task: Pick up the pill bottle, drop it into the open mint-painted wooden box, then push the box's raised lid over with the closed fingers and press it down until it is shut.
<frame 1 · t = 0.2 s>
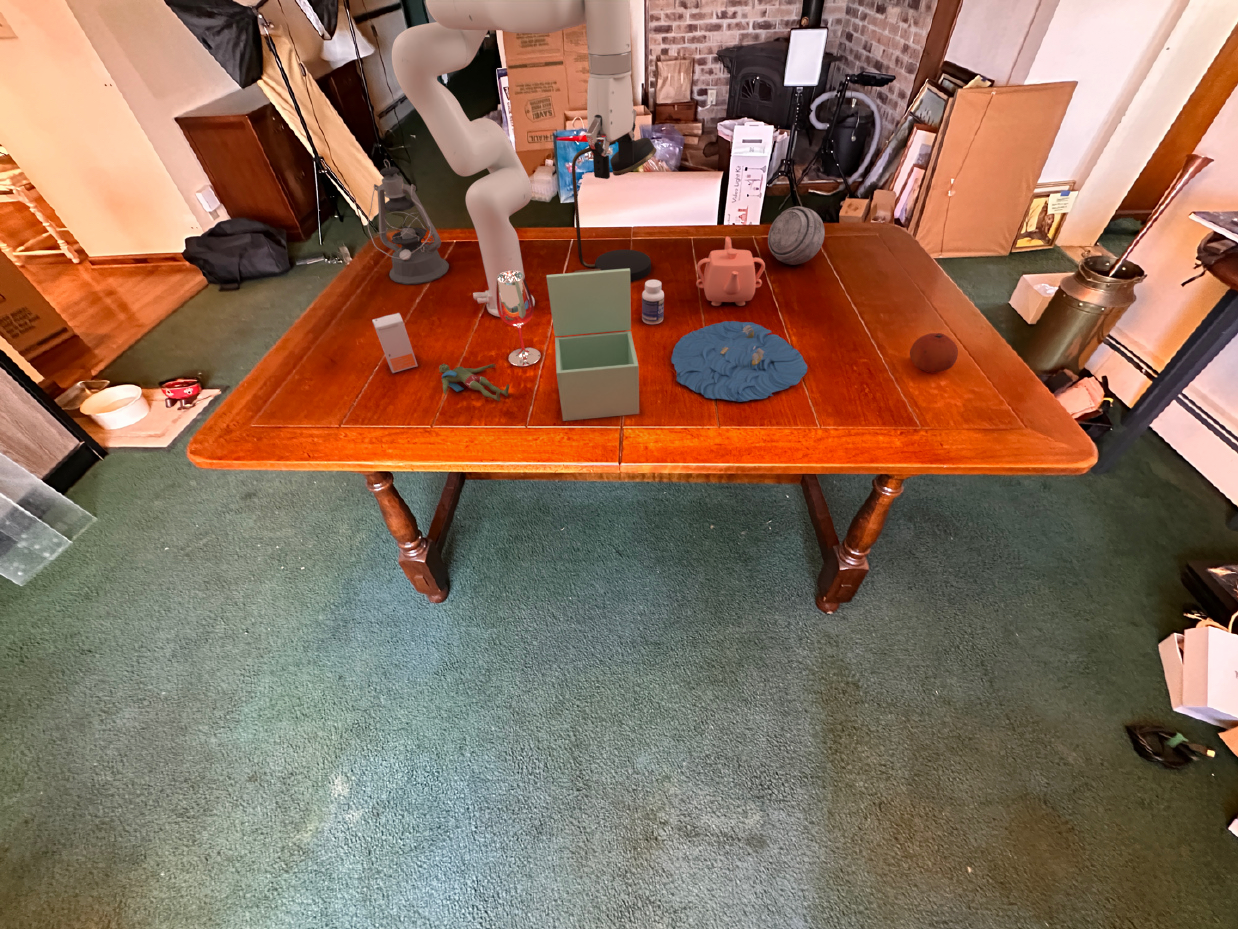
hand: (614, 169, 110), 37 cm above the table, tool pointing down, fingers open, 9 cm apart
fruit: (926, 368, 121), on the table
blue flat rumpled sheet: (737, 364, 125), on the table
lid: (590, 298, 110), point 19 cm above the table, hinge at 85.0°
pill bottle: (652, 320, 140), on the table
figurine: (474, 388, 122), on the table
teapot: (727, 297, 147), on the table
wineglass: (524, 358, 130), on the table
lantern: (418, 274, 163), on the table
chest: (598, 398, 118), on the table
cosmetic box: (404, 366, 129), on the table
lamp: (617, 270, 160), on the table
decorative orb: (791, 262, 160), on the table
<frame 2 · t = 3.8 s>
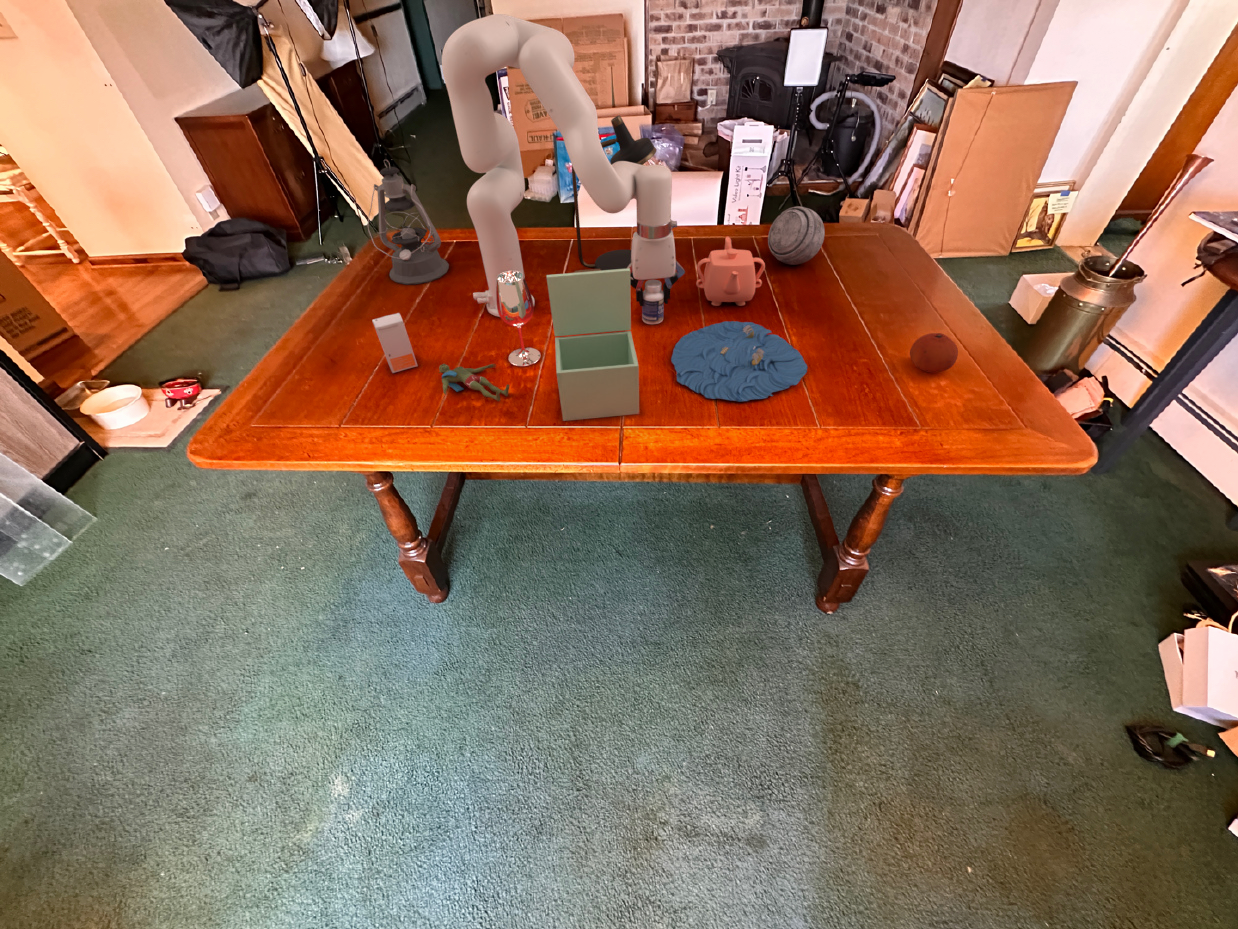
hand: (653, 301, 136), 5 cm above the table, tool pointing down, fingers closed on pill bottle, 5 cm apart
pill bottle: (652, 320, 140), on the table, touching gripper
everything else where it was.
when the fingers open (14 cm above the table, at t = 13.7 s): pill bottle drops 8 cm, resting on chest.
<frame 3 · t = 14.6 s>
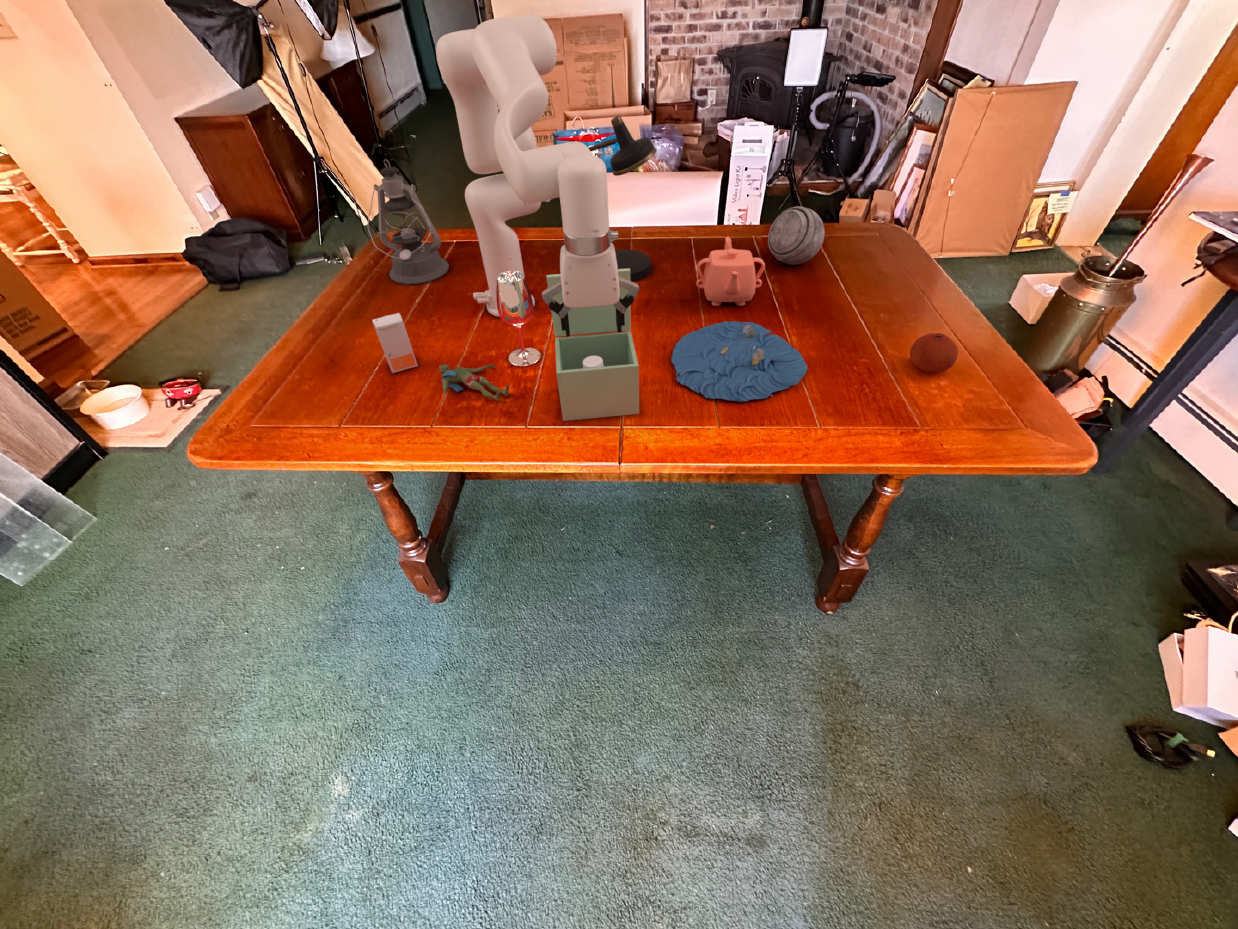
hand: (593, 330, 104), 17 cm above the table, tool pointing down, fingers open, 9 cm apart
pill bottle: (598, 400, 116), point 1 cm above the table, touching chest
everything else where it was.
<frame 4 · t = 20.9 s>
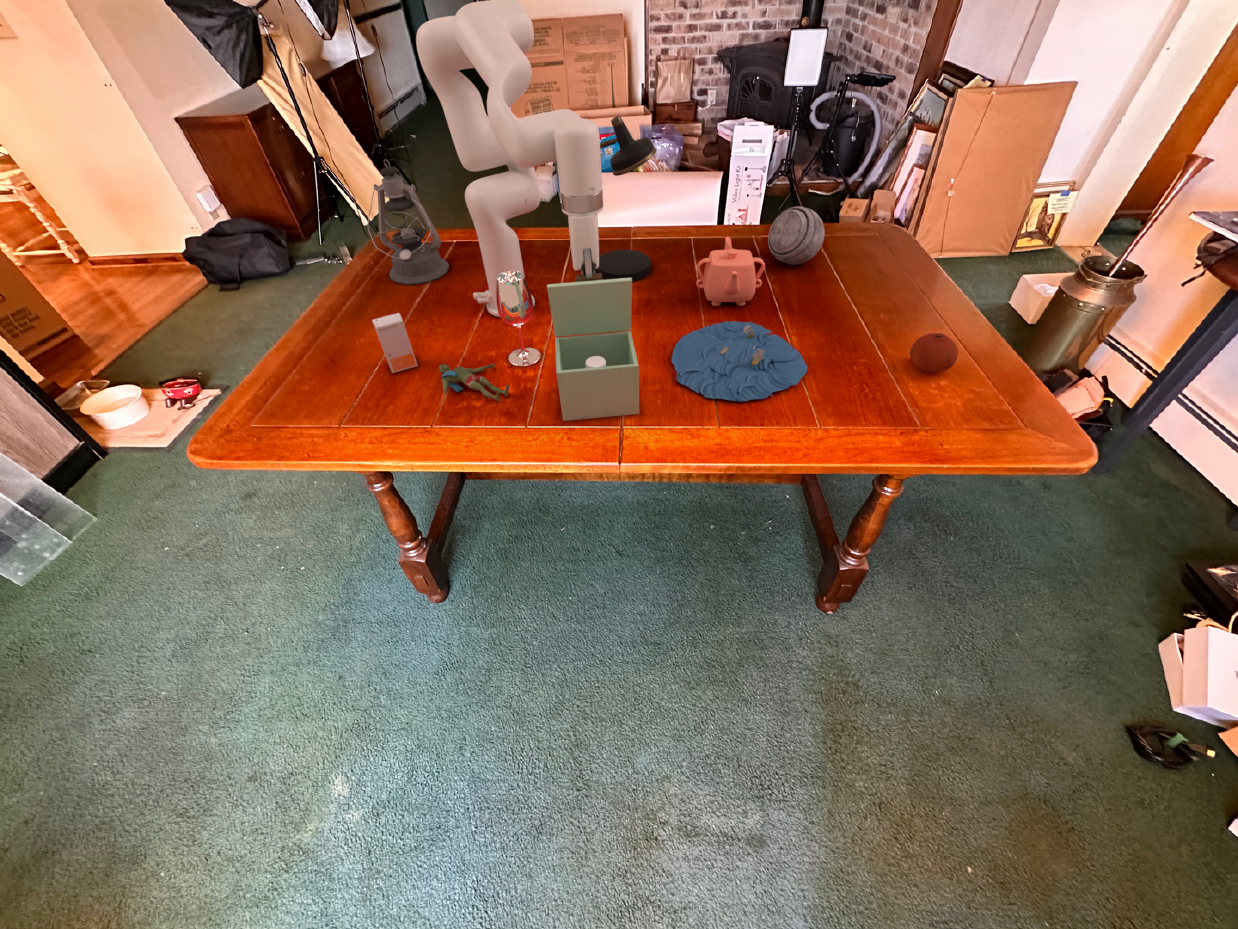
hand: (589, 295, 112), 18 cm above the table, tool pointing down, fingers closed
lid: (590, 301, 109), point 19 cm above the table, hinge at 72.8°, touching gripper
everything else where it was.
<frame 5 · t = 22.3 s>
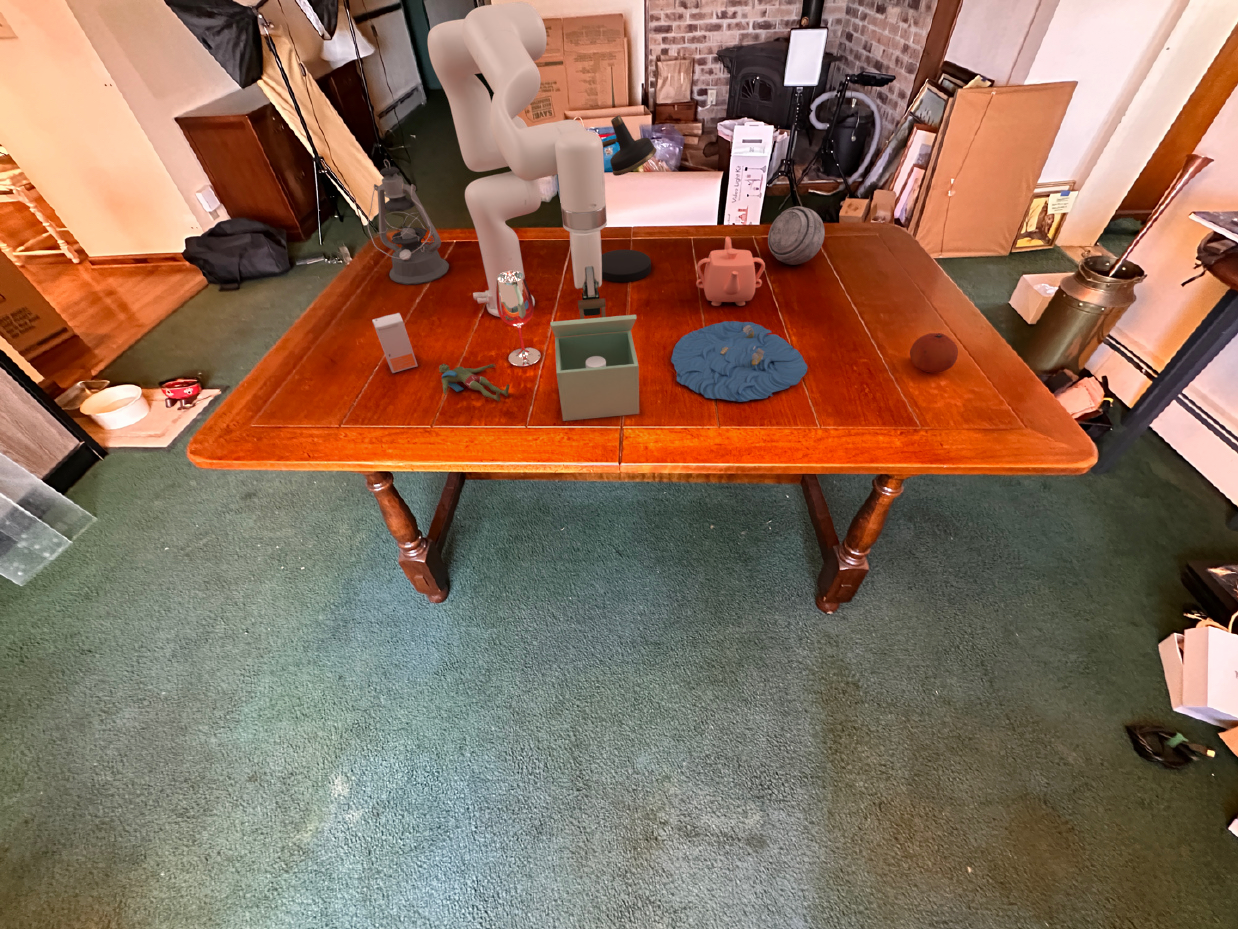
hand: (591, 313, 107), 18 cm above the table, tool pointing down, fingers closed
lid: (592, 316, 107), point 18 cm above the table, hinge at 39.9°, touching gripper
everything else where it was.
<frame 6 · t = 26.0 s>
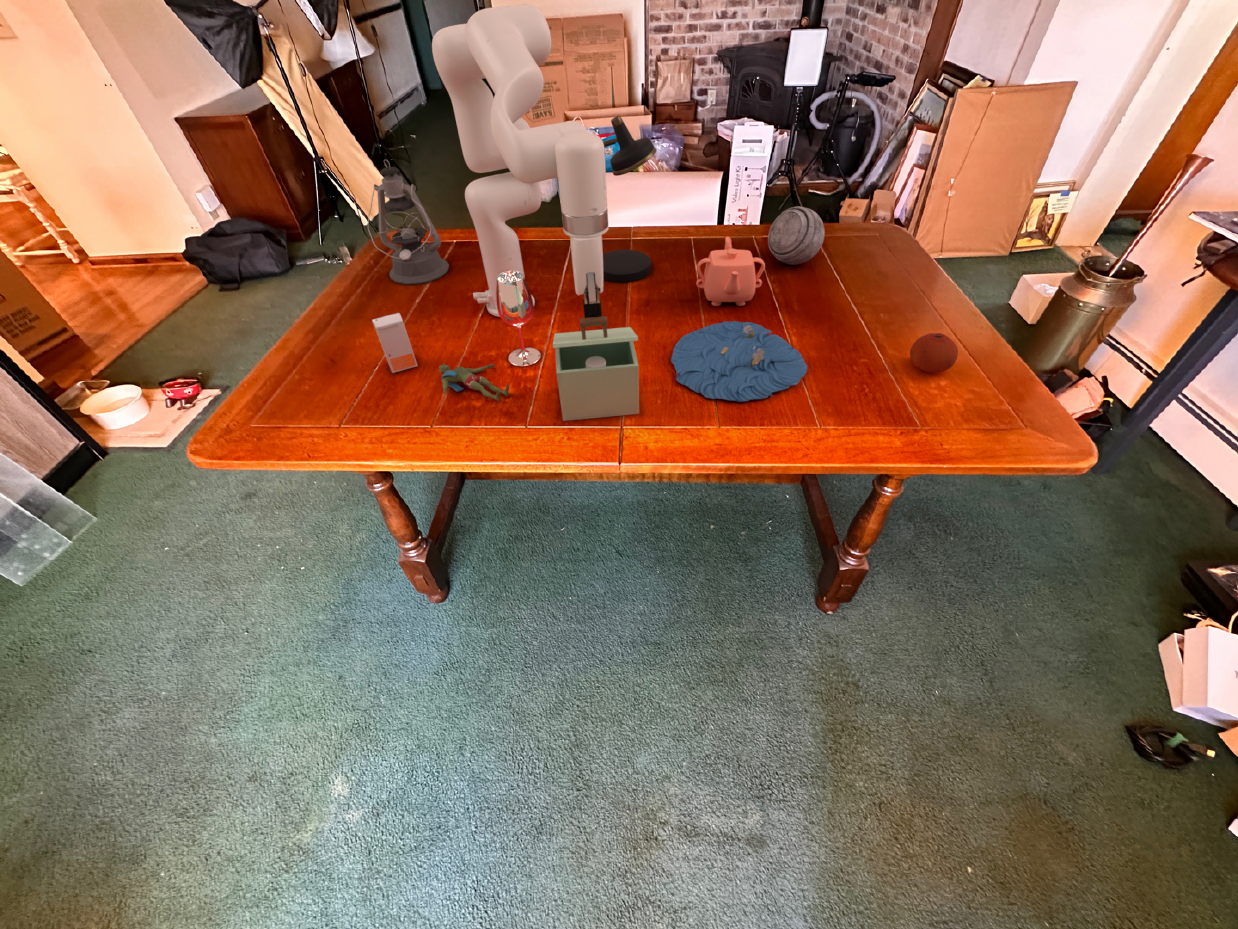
hand: (593, 319, 104), 19 cm above the table, tool pointing down, fingers closed
lid: (593, 326, 107), point 17 cm above the table, hinge at 23.3°
everything else where it was.
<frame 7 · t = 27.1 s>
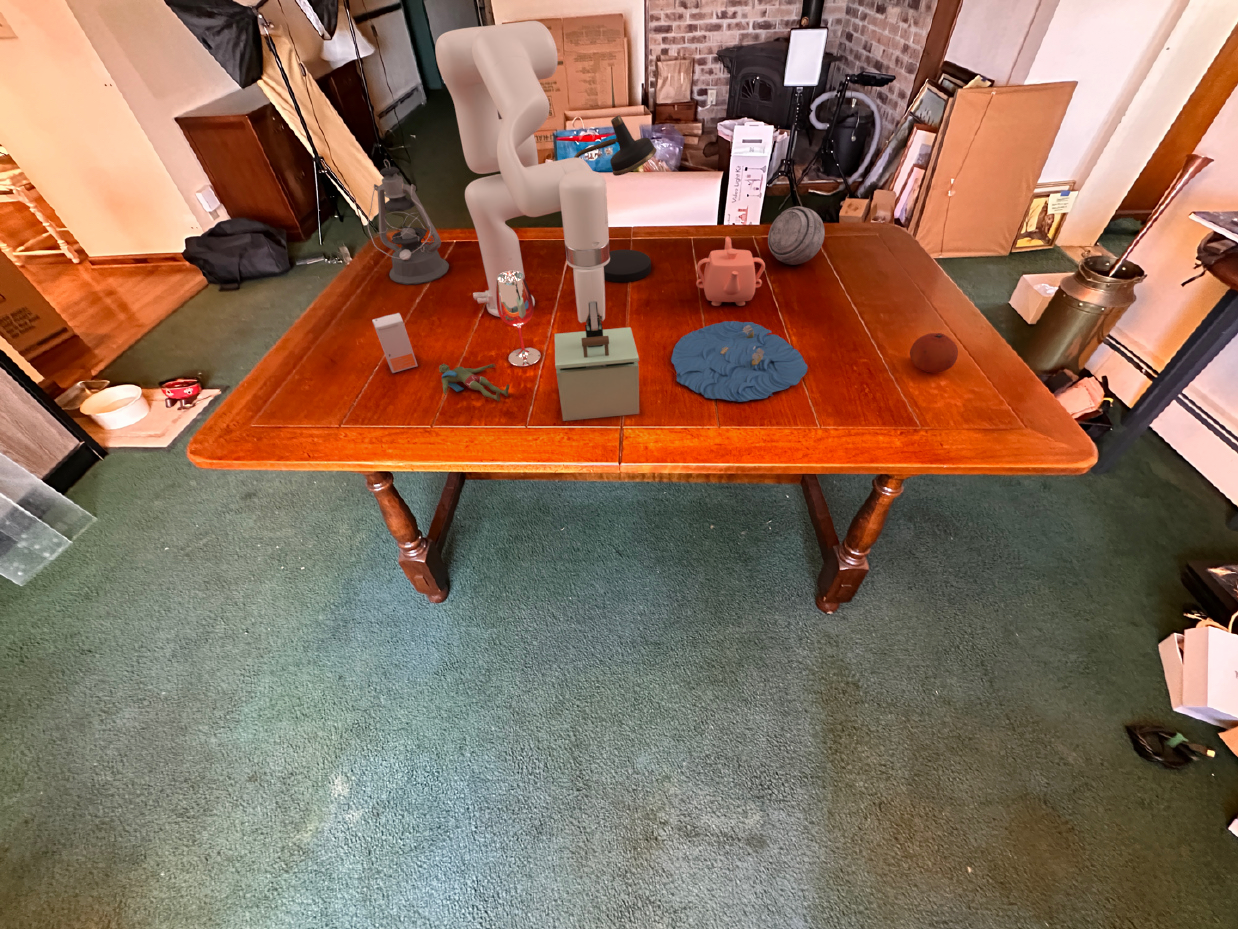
hand: (595, 344, 108), 13 cm above the table, tool pointing down, fingers closed
lid: (594, 338, 107), point 15 cm above the table, hinge at 6.0°
everything else where it was.
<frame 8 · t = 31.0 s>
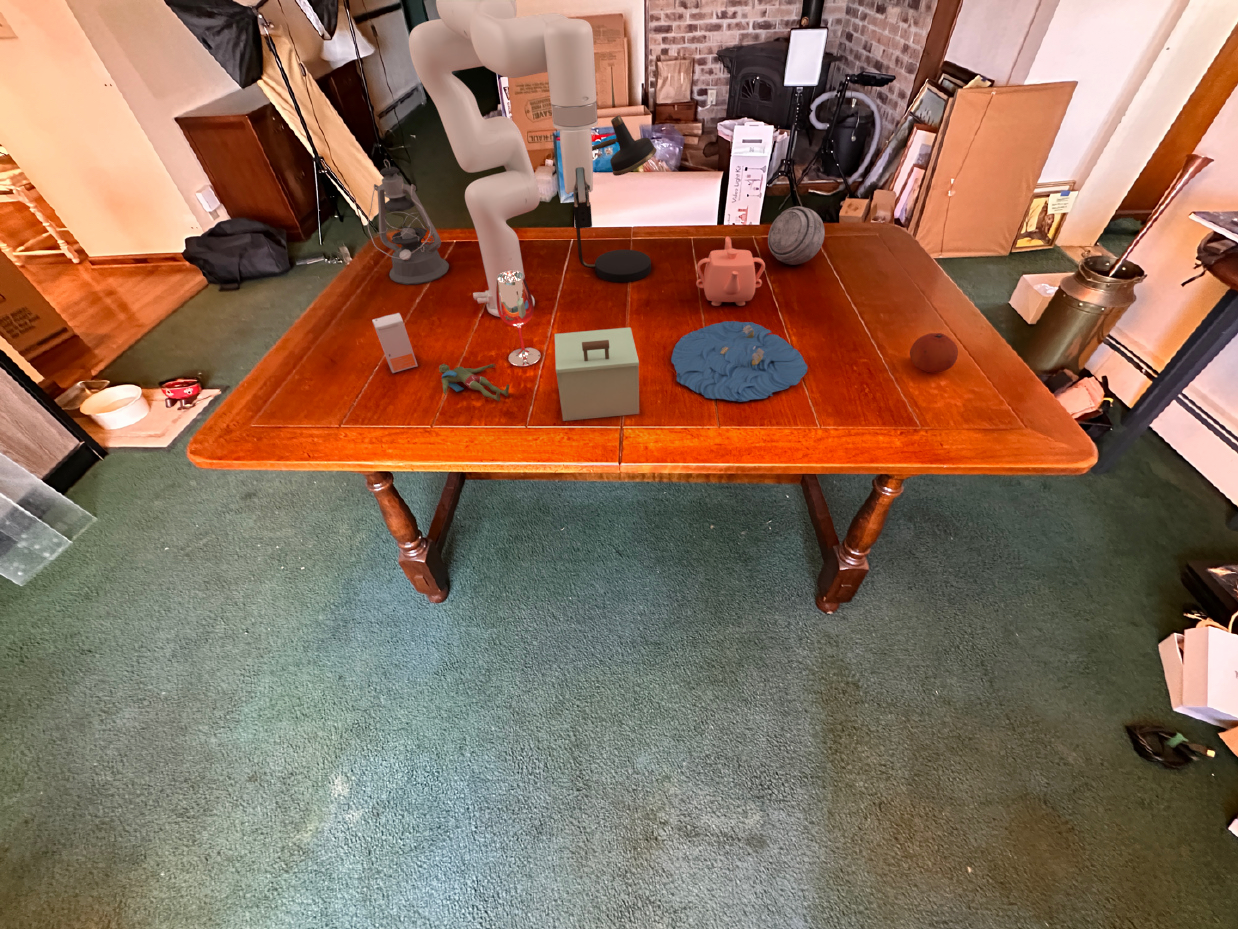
hand: (583, 226, 105), 31 cm above the table, tool pointing down, fingers closed
lid: (594, 340, 107), point 14 cm above the table, hinge at 2.2°
everything else where it was.
at the end: pill bottle inside the target area in the chest (1.8 cm from its centre), point 0.6 cm above the chest's base; lid at +2° (first picture: +85°) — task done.
